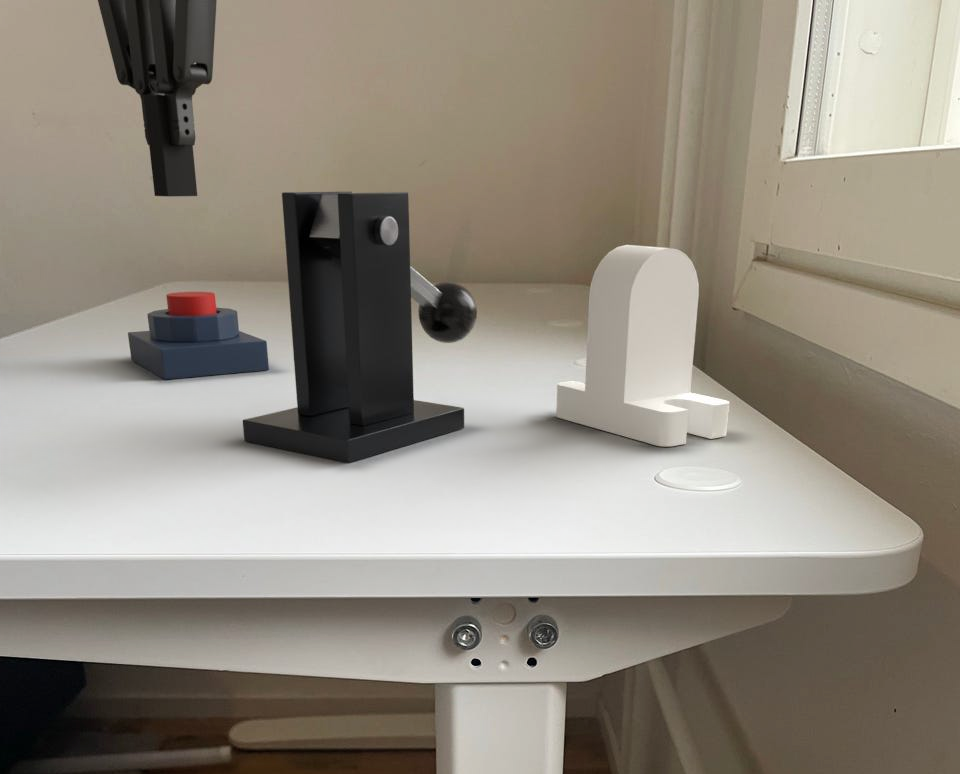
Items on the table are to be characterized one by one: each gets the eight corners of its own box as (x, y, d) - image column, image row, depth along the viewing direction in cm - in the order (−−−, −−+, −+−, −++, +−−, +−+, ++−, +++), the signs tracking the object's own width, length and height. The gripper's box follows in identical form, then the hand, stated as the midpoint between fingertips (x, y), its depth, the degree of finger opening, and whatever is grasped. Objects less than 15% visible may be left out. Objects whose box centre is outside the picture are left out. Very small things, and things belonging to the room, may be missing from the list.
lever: (432, 349, 65) (449, 296, 65) (477, 355, 63) (494, 300, 63) (295, 246, 54) (316, 182, 54) (345, 249, 52) (366, 183, 52)
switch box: (131, 360, 82) (124, 308, 81) (227, 352, 86) (222, 302, 84) (164, 379, 74) (157, 322, 73) (269, 370, 78) (264, 315, 76)
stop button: (163, 316, 79) (160, 293, 78) (209, 313, 81) (206, 290, 80) (176, 321, 76) (173, 297, 76) (223, 318, 78) (221, 294, 77)
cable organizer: (615, 405, 66) (624, 240, 62) (730, 435, 59) (750, 249, 55) (551, 415, 63) (557, 243, 59) (664, 447, 56) (679, 253, 52)
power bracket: (364, 411, 65) (353, 190, 59) (464, 428, 60) (463, 192, 55) (244, 441, 57) (220, 192, 52) (348, 463, 53) (334, 194, 48)
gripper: (249, -208, 65) (275, 197, 74) (121, -174, 71) (161, 193, 81) (151, -245, 59) (193, 199, 69) (23, -204, 66) (78, 194, 76)
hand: (176, 195), depth 75 cm, fingers closed
